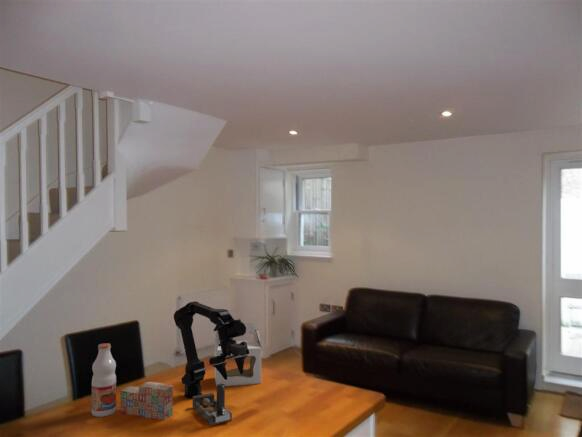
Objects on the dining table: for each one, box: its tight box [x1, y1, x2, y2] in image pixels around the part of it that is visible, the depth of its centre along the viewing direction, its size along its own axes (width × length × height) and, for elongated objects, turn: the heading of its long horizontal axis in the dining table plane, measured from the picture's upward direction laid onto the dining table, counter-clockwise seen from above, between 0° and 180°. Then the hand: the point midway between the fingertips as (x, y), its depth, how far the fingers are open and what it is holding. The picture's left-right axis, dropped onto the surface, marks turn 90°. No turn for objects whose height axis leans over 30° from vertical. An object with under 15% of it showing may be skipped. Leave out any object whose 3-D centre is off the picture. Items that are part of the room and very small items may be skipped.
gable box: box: [214, 323, 262, 387], centre depth 233 cm, size 22×13×28 cm, turn 103°
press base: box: [192, 392, 233, 426], centre depth 192 cm, size 21×9×4 cm, turn 31°
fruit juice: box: [90, 342, 117, 418], centre depth 193 cm, size 9×9×28 cm
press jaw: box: [211, 384, 230, 422], centre depth 184 cm, size 5×6×13 cm
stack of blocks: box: [119, 381, 174, 422], centre depth 192 cm, size 21×6×12 cm, turn 71°
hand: (234, 376), depth 196 cm, fingers open, 9 cm apart
